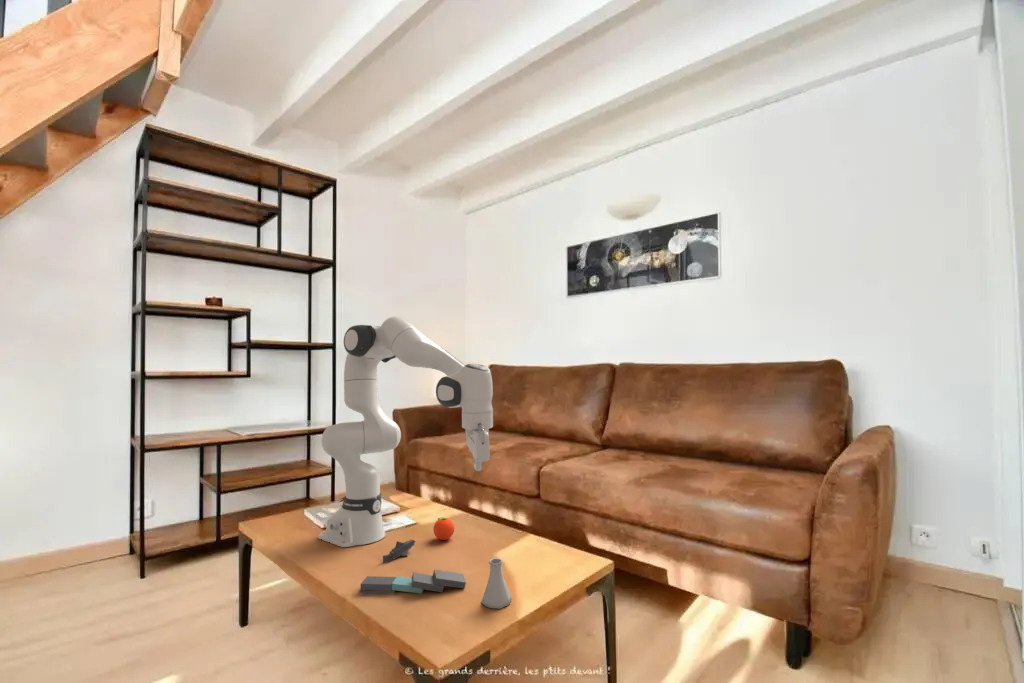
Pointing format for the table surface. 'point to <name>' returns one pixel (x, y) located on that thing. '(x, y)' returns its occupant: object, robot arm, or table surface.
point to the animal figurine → (399, 550)
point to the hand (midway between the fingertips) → (477, 469)
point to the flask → (496, 587)
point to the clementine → (443, 528)
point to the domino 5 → (449, 579)
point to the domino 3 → (404, 585)
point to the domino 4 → (425, 582)
